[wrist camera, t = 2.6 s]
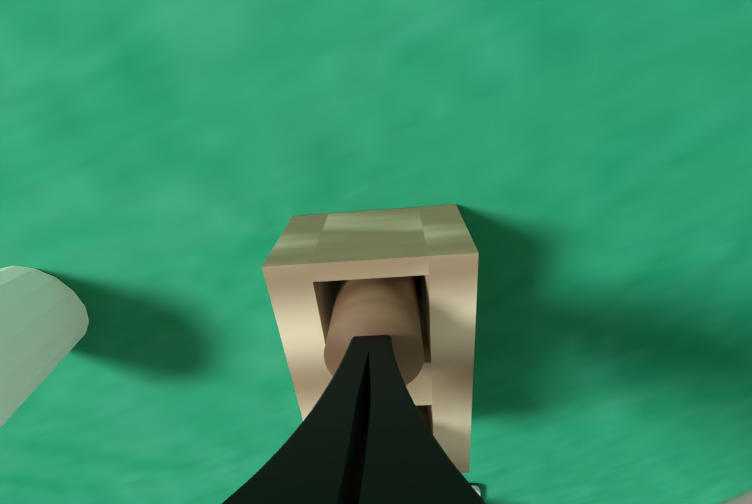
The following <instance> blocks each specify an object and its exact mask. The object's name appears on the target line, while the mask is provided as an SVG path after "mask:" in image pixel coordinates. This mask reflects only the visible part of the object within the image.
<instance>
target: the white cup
mask: <svg viewBox="0 0 752 504" xmlns="http://www.w3.org/2000/svg"><path fill="white" fill-rule="evenodd" d="M88 324H89V319H88V315H87V311H86V308H85V306H84V304H83V303H82V302H81V300H80V299H79V298H78V296H77V295H76V294H75V292H74V291H73V290H72V289H70V288H69V287H68V286H66V285H65V284H64V283H63V282H61V281H60V280H59V279H57V278H56V277H54V276H51V275H49V274H47V273H45V272H42V271H40V270H38V269H35V268H29V267H21V266H10V267H6V268H2V269H0V427H1V426H2V425H3V424H4V423H5V422H6V421H7V420H8V419H9V417H10V416H11V415H12V414H13V413H14V412H15V411H16V410H17V409H18V408H19V406H20V405H21V404H22V403H23V402H24V401H25V400H26V399H27V398H28V397H29V395H30V394H31V393H32V392H33V391H34V390H35V389H36V388H37V387H38V386H39V384H40V383H41V382H42V381H43V380H44V379H45V378H46V377H47V376H48V375H49V373H50V372H51V371H52V370H53V369H54V368H55V367H56V366H57V365H58V364H59V362H60V361H61V360H62V359H63V358H64V357H65V356H66V355H67V354H68V353H69V351H70V350H71V349H72V348H73V347H74V346H75V345H76V344H77V343H78V342H79V340H80V339H81V338H82V337H83V336H84V335H85V334H86V331H87V327H88Z"/></svg>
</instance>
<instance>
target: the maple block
mask: <svg viewBox="0 0 752 504" xmlns="http://www.w3.org/2000/svg"><path fill="white" fill-rule="evenodd" d="M478 257H479V252H478V250H477V248H476V246H475V244H474V242H473V240H472V237H471V235H470V233H469V231H468V229H467V227H466V225H465V222H464V220H463V218H462V216H461V214H460V212H459V210H458V208H457V205H456V204H454V205H441V206H427V207H413V208H400V209H386V210H372V211H359V212H345V213H331V214H318V215H304V216H293V217H292V218H291V220H290V222H289V223H288V225H287V227H286V228H285V230H284V231H283V233H282V235H281V236H280V238H279V240H278V241H277V243H276V245H275V246H274V248H273V249H272V251H271V253H270V254H269V256H268V258H267V259H266V261H265V262H264V264H263V266H262V269H263V273H264V277H265V280H266V284H267V288H268V291H269V295H270V299H271V303H272V306H273V310H274V314H275V317H276V321H277V325H278V329H279V332H280V336H281V340H282V344H283V347H284V351H285V355H286V358H287V362H288V366H289V370H290V373H291V377H292V381H293V384H294V388H295V392H296V396H297V399H298V403H299V407H300V410H301V414H302V418H303V421H304V419H305V418H306V417H307V415H308V414H309V413H310V411H311V410H312V409H313V407H314V406H315V404H316V403H317V401H318V400H319V398H320V397H321V395H322V394H323V392H324V391H325V389H326V387H327V386H328V384H329V383H330V381H331V379H332V377H333V376H332V375H331V374H330V372H329V371H328V369H327V367H326V364H325V361H324V348H325V344H326V339H327V335H328V330H329V326H330V321H331V317H332V313H333V308H334V304H335V299H336V295H337V290H338V286H339V280H353V279H370V278H386V277H403V276H419V275H421V287H422V296H417V301H418V309H419V317H420V326H421V334H422V342H423V351H424V362H423V366H422V369H421V371H420V373H419V374H418V375H417V377H416V378H415V379H414V380H413V381H412V382H410V383H409V384H408V385H406V387H407V390H408V392H409V394H410V396H411V398H412V400H413V402H414V404H415V406H416V407H417V409H418V410H419V412H420V413H421V415H422V417H423V420H424V421H425V423H426V425H427V426H428V428H429V430H430V431H431V433H432V434H433V436H434V437H435V439H436V440H437V442H438V443H439V444H440V446H441V447H442V449H443V450H444V452H445V453H446V454H447V456H448V457H449V459H450V460H451V461H452V463H453V464H454V465H455V466H456V468H457V469H458V470H459V471H460V473H466V472H469V459H470V436H471V414H472V392H473V369H474V347H475V324H476V302H477V280H478Z"/></svg>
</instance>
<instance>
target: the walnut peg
mask: <svg viewBox="0 0 752 504" xmlns="http://www.w3.org/2000/svg"><path fill="white" fill-rule="evenodd" d="M372 335H389V336H390V337H391V339H392V348H393V352H394V356H395V359H396V362H397V365H398V368H399V371H400V373H401V376H402V378H403V380H404V383H405V385H408V384H409V383H410V382H412V381H413V380H414V379H415V378H416V377H417V375H418V374H419V373H420V371H421V369H422V366H423V362H424V351H423V342H422V334H421V326H420V317H419V309H418V301H417V292H416V284H415V278H414V276H403V277H386V278H370V279H353V280H340V281H339V286H338V290H337V295H336V299H335V304H334V308H333V313H332V317H331V321H330V326H329V330H328V335H327V339H326V344H325V348H324V361H325V364H326V367H327V369H328V371H329V372H330V374H331V375H332V376H334V374H335V372H336V370H337V368H338V367H339V365H340V363H341V361H342V359H343V357H344V355H345V353H346V350H347V348H348V346H349V344H350V341H351V339H352V338H353V337H354V336H372Z"/></svg>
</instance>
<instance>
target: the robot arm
mask: <svg viewBox="0 0 752 504" xmlns="http://www.w3.org/2000/svg"><path fill="white" fill-rule="evenodd" d="M222 504H485V503H484V501H483V499H482V497H481V492H480V488H479V487H478V486H474V485H470V484H469V482H468V481H467V480H466V479H465V478H464V476H463V475H462V474H461V473H460V471H459V470H458V469H457V468H456V466H455V465H454V464H453V463H452V461H451V460H450V459H449V457H448V456H447V454H446V453H445V452H444V450H443V449H442V447H441V446H440V444H439V443H438V442H437V440H436V439H435V437H434V436H433V434H432V433H431V431H430V430H429V428H428V426H427V425H426V423H425V421H424V420H423V418H422V416H421V415H420V413H419V411H418V409H417V407H416V406H415V404H414V402H413V400H412V398H411V396H410V394H409V392H408V390H407V387H406V385H405V383H404V380H403V378H402V376H401V373H400V371H399V368H398V365H397V362H396V359H395V356H394V352H393V348H392V339H391V337H390V336H389V335H372V336H354V337H353V338H352V339H351V341H350V344H349V346H348V348H347V350H346V353H345V355H344V357H343V359H342V361H341V363H340V365H339V367H338V368H337V370H336V372H335V374H334V376H333V377H332V379H331V381H330V383H329V384H328V386H327V387H326V389H325V391H324V392H323V394H322V395H321V397H320V398H319V400H318V401H317V403H316V404H315V406H314V407H313V409H312V410H311V411H310V413H309V414H308V415H307V417H306V418H305V419H304V421H303V422H302V423H301V425H300V426H299V427H298V428H297V429H296V431H295V432H294V433H293V434H292V435H291V437H290V438H289V439H288V440H287V441H286V443H285V444H284V445H283V446H282V447H281V448H280V449H279V450H278V451H277V452H276V453H275V454H274V455H273V456H272V458H271V459H270V460H269V461H268V462H267V463H266V464H265V465H264V466H263V467H262V468H261V469H260V470H259V471H258V472H257V473H256V474H255V475H254V476H253V477H251V478H250V479H249V480H248V481H247V482H246V483H245V484H244V485H243V486H241V487H240V488H239V489H238V490H237V491H236V492H235V493H233V494H232V495H231V496H230V497H229V498H228V499H227V500H225V501H224V502H223V503H222Z"/></svg>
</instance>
